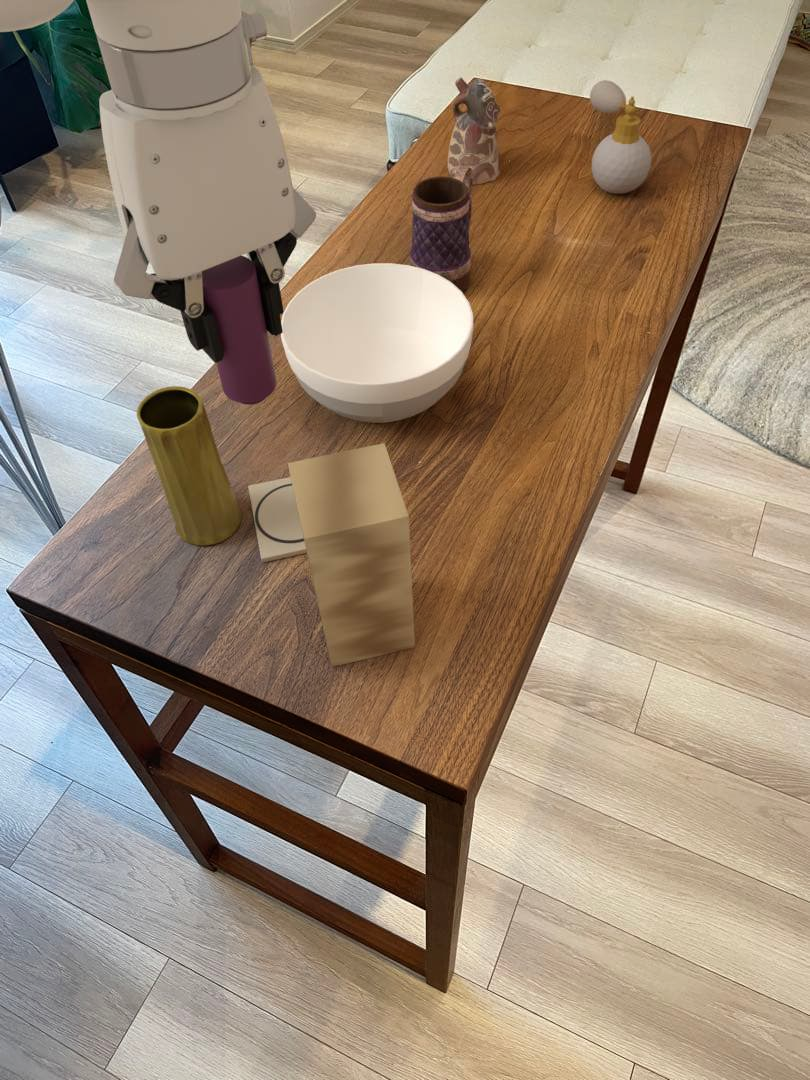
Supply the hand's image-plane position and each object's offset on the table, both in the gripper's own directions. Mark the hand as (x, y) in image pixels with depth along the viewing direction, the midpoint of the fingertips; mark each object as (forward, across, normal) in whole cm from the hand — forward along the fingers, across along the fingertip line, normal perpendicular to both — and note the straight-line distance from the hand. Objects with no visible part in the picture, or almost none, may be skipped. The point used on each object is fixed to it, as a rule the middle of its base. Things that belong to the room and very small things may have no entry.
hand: (238, 336), depth 58 cm
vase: (+22, +5, -6) cm, 24 cm away
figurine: (+22, -54, -38) cm, 69 cm away
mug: (+22, -36, -22) cm, 47 cm away
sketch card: (+22, -4, 0) cm, 22 cm away
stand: (+22, -1, +12) cm, 26 cm away
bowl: (+22, -18, -10) cm, 31 cm away
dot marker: (+5, 0, 0) cm, 5 cm away
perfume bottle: (+22, -65, -24) cm, 73 cm away
